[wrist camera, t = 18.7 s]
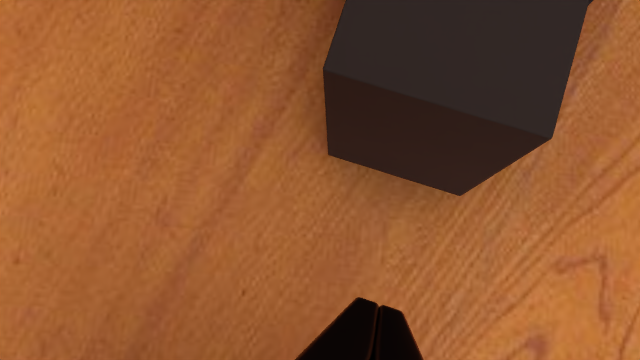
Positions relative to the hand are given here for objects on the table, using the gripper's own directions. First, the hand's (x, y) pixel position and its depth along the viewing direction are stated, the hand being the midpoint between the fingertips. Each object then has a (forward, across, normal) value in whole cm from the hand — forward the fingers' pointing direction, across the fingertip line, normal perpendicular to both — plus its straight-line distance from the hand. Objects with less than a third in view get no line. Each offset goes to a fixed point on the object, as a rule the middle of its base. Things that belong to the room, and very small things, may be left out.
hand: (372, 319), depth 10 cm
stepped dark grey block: (+14, 0, -1) cm, 14 cm away
